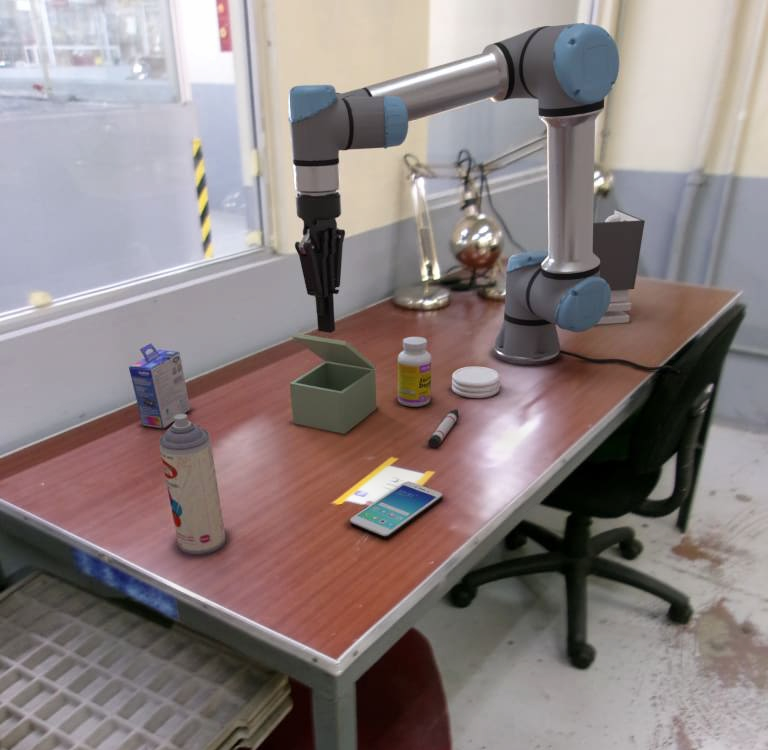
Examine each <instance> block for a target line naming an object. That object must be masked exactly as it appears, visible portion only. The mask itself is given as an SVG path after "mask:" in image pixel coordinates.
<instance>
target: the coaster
mask: <svg viewBox="0 0 768 750" xmlns="http://www.w3.org/2000/svg"><path fill="white" fill-rule="evenodd" d="M451 379H452V380H451V390H452V392H453V393H455V394H456V395H458V396H460V397H463V398H467V399H484V398H490V397H493V396H494V395H497V394H498V392H500V391H499V390H500V389H501V388H500V385H501V381H500V380H501V375H500V373H499V372H497V370H495V369H493V368H490V367H486V366H477V365H476V366H474V365H473V366H465V367H461V368H458V369H456V370H455V371H454V372H452V374H451Z"/></svg>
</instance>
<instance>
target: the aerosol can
mask: <svg viewBox="0 0 768 750" xmlns="http://www.w3.org/2000/svg"><path fill="white" fill-rule="evenodd" d="M172 423H173V424H172V425H171V426H170V427H169V428H167V430H166V431H165V433H163V434H162V435H161V436H160V437H159V452H160V456H161V462H162V467H163V474H164V478H165V483H166V487H167V493H168V498H169V504H170V509H171V514H172V519H173V525H174V529H175V535H176V539H177V544H178V548H179V550H180V551H181V552H183V553H184V554H186V555H191V556H204V555H209V554H211V553H214V552H217V551H218V550H219V549H221V548H222V547H224V545H225V544H226V541H227V538H226V537H227V536H226V531H225V525H224V519H223V512H222V505H221V498H220V493H219V485H218V479H217V473H216V466H215V460H214V453H213V447H212V439H211V437H210V436H209V434H210V433H209V432H208V431H207V430H206V429H204V428H201V427H199V425H197V424H195V423H194V422H191V421H190V420H189V418H188V415H187V414H186V413H184V414H178V415H176V416H174V421H173V422H172Z"/></svg>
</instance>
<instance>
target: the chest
mask: <svg viewBox="0 0 768 750" xmlns="http://www.w3.org/2000/svg"><path fill="white" fill-rule="evenodd" d="M376 379H377V377H376V369H375V370H374V369H368V368H362V367H357V366H351V365H345V364H339V363H333V362H327V361H324V362H322V363H320V364H319V365H317V366H315V367H314V368H312V369H311V370H309V371H308V372H307V371H306V373H304V374H303V375H301V376H299V377H298V378H296V379H294V380H293V381H291V382H290V383H289V389H290V390H289V391H290V401H291V413H292V423H293V424H295V425H300V426H305V427H309V428H313V429H314V428H315V429H319V430H324V431H328V432H333V433H337V434H342V435H345V434H346V433H348V432H349V431H350V430H352V428H354V427H356V426H357V425H358V424H359V423H361V421H363V420H364V419H366V418H367V417H368V416H370V415H371V414H372V413H373V412H374V411H376V410H377V385H376V384H377V381H376Z"/></svg>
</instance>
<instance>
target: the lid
mask: <svg viewBox="0 0 768 750" xmlns="http://www.w3.org/2000/svg"><path fill="white" fill-rule="evenodd" d="M290 337H291V338H292V339H294V341H296V342H298V343H299V344H300V345H302V346H304V347H305V348H306V349H307V350H309V351H310V352H312V353H313V354H314V355H316V356H317V357H319V358H320V359H321V360H322V361H324V362H331V363H337V364H343V365H348V366H354V367H360V368H366V369H372V370H375V371H376V367H377V365H375V364H374V362H372V361H371V360H370V359H369V358H367V357H366V356H365V355H364V354H363V353H361V352H360V351H359V350H358V349H357V348H355V347H354V346H353V345H352V344H350V343H349V342H348V341H346V340H341V339H336V338H335V339H334V338H330V337H329V338H328V337H322V336H316V335H309V334H303V333H297V332H292V334H291V336H290Z"/></svg>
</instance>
